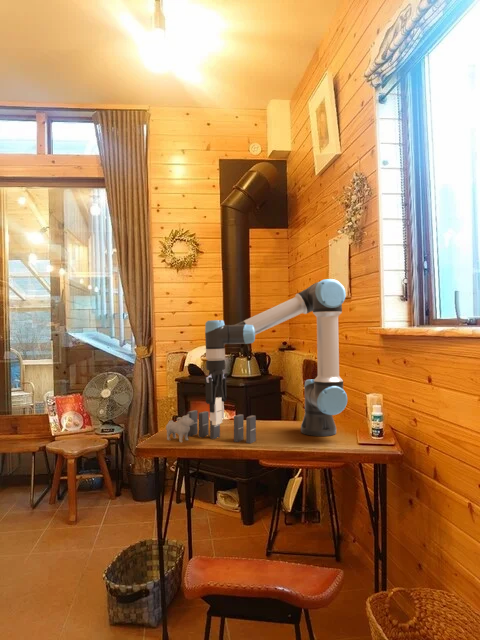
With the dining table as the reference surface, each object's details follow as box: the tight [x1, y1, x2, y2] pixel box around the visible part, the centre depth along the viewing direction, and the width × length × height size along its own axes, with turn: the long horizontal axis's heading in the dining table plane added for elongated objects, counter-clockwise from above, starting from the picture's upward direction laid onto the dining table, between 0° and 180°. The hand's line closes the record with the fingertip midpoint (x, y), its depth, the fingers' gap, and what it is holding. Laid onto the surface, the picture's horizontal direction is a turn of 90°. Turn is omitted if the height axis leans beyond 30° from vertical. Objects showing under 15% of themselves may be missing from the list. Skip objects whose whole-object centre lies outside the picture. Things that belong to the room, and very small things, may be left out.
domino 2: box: [198, 410, 210, 438], centre depth 189 cm, size 2×5×10 cm, turn 153°
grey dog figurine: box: [165, 413, 194, 443], centre depth 182 cm, size 5×13×11 cm, turn 57°
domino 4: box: [233, 413, 245, 443], centre depth 181 cm, size 2×5×10 cm, turn 153°
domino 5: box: [245, 414, 257, 444], centre depth 179 cm, size 2×5×10 cm, turn 153°
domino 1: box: [187, 409, 199, 437], centre depth 191 cm, size 2×5×10 cm, turn 153°
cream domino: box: [212, 396, 223, 425], centre depth 176 cm, size 2×5×10 cm, turn 153°
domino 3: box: [209, 420, 221, 440], centre depth 186 cm, size 2×5×10 cm, turn 153°
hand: (217, 419), depth 176 cm, fingers closed on cream domino, 5 cm apart
